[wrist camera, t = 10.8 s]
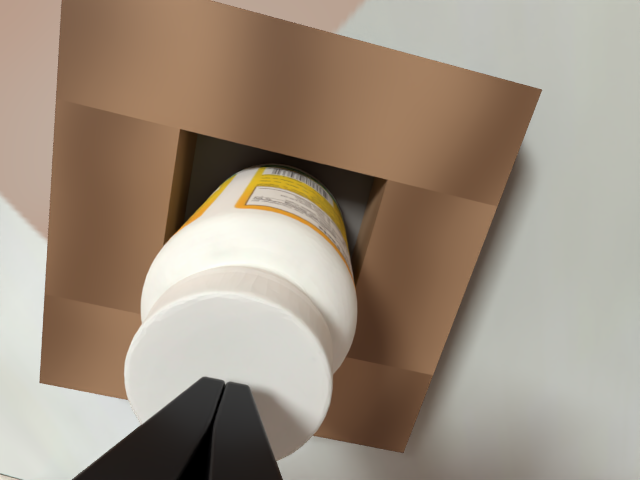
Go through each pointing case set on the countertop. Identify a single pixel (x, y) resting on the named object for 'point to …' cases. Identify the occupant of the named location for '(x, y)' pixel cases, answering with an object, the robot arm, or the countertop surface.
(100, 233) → the socket block
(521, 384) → the countertop surface
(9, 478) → the medicine bottle
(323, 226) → the supplement bottle
